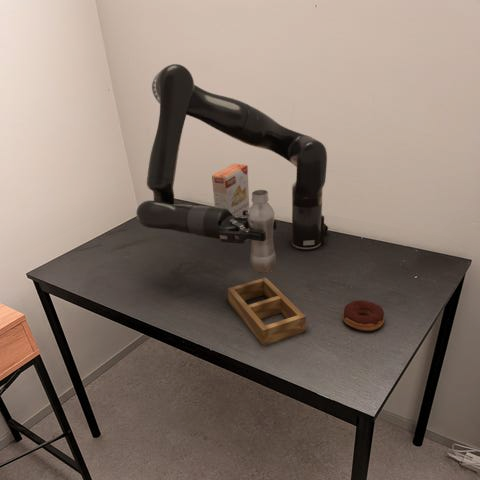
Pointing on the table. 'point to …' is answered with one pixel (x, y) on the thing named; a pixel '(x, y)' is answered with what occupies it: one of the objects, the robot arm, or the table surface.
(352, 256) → the table surface
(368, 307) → the donut
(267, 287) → the caddy
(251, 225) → the grey metal bottle
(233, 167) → the cracker box
